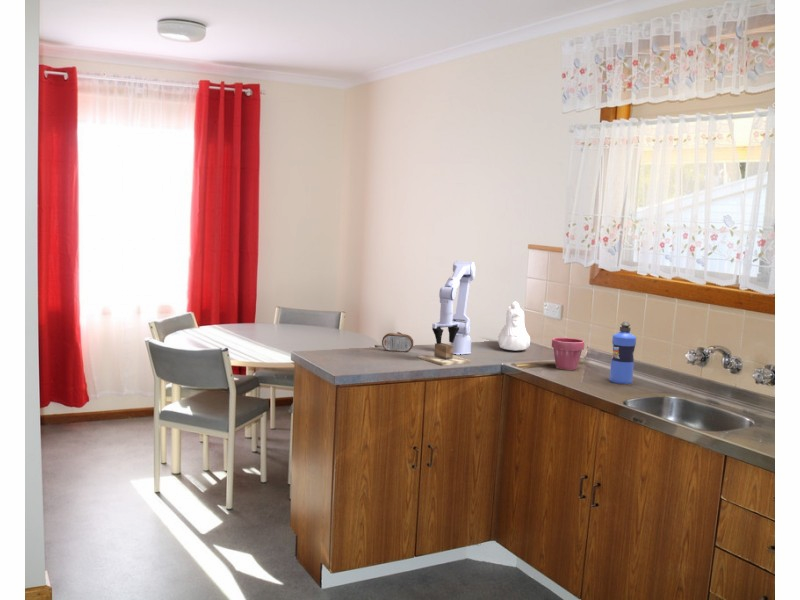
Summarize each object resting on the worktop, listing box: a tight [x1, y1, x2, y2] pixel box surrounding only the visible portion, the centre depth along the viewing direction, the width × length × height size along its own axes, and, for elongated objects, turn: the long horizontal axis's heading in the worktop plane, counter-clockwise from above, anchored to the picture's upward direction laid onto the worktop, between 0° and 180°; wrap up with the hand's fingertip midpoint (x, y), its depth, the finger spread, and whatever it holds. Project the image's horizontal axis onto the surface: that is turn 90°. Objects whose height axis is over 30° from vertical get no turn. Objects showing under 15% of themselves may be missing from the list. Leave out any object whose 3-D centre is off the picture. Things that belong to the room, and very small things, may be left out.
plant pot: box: [551, 337, 585, 371], centre depth 319 cm, size 14×14×13 cm
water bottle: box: [609, 321, 637, 385], centre depth 295 cm, size 9×9×25 cm
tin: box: [381, 332, 414, 353], centre depth 341 cm, size 15×3×8 cm, turn 84°
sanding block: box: [433, 342, 454, 360], centre depth 325 cm, size 4×8×6 cm, turn 38°
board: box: [417, 353, 471, 366], centre depth 324 cm, size 16×18×1 cm
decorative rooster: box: [497, 300, 531, 352], centre depth 360 cm, size 25×16×25 cm, turn 167°
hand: (445, 343), depth 324 cm, fingers open, 7 cm apart
